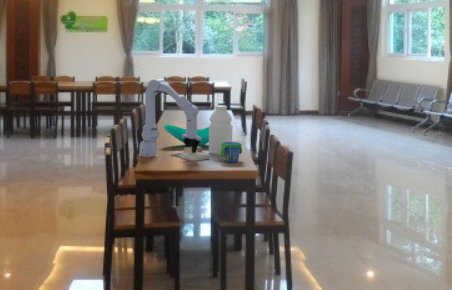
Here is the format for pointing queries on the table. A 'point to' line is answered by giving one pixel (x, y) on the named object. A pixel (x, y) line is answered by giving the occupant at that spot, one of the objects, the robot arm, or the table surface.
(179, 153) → the parts tray
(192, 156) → the dish
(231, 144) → the snack cup
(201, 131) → the table top decor
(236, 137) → the table surface
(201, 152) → the tan cube
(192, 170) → the table surface
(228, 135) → the bottle
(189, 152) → the cream cube
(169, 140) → the table surface
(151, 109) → the robot arm
